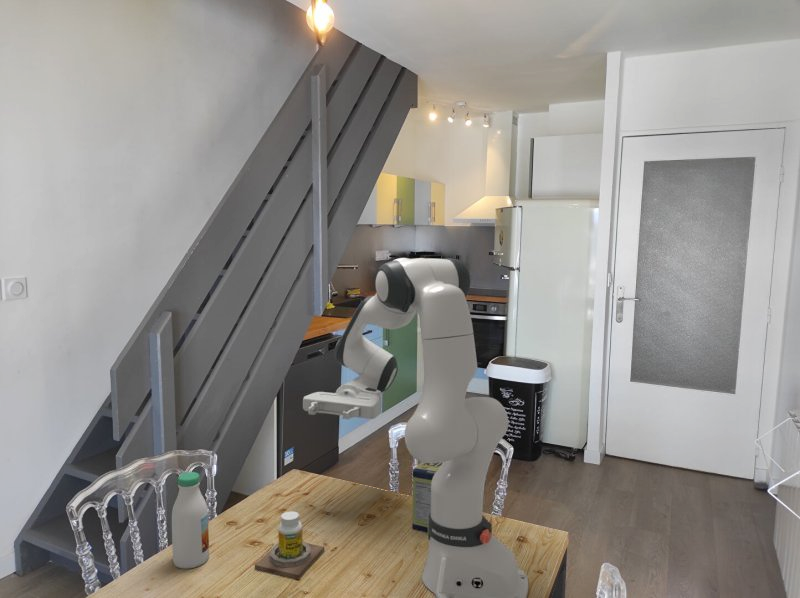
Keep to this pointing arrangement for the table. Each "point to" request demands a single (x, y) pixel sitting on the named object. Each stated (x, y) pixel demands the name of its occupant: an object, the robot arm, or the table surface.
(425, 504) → the protein box
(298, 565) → the collar board
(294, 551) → the supplement bottle
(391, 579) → the table surface
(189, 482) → the milk bottle
